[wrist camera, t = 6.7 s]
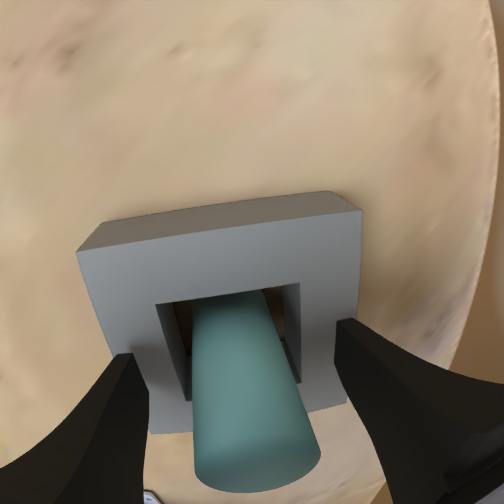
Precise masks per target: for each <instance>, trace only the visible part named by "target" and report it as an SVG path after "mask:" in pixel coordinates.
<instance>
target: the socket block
mask: <svg viewBox="0 0 504 504" xmlns="http://www.w3.org/2000/svg"><path fill="white" fill-rule="evenodd" d="M361 239H362V210H361V209H359V208H357V207H356V206H354V205H352V204H351V203H349V202H347V201H346V200H344V199H342V198H340V197H339V196H337V195H335V194H334V193H332V192H330V191H321V192H312V193H303V194H294V195H285V196H277V197H268V198H260V199H253V200H245V201H237V202H230V203H223V204H216V205H209V206H202V207H195V208H189V209H182V210H176V211H170V212H164V213H158V214H152V215H146V216H140V217H134V218H128V219H123V220H117V221H112V222H106V223H101V224H100V225H99V226H98V227H97V228H96V229H95V231H94V232H93V233H92V234H91V235H90V236H89V237H88V238H87V239H86V241H85V242H84V243H83V244H82V245H81V246H80V247H79V249H78V250H77V251H76V252H75V253H76V256H77V260H78V263H79V266H80V269H81V272H82V276H83V279H84V282H85V285H86V288H87V291H88V294H89V296H90V299H91V302H92V305H93V308H94V310H95V313H96V316H97V318H98V321H99V324H100V326H101V329H102V331H103V334H104V336H105V339H106V341H107V344H108V346H109V348H110V351H111V353H112V355H113V358H114V357H115V356H116V355H117V354H121V353H133V354H134V357H135V359H136V362H137V364H138V367H139V369H140V372H141V374H142V376H143V379H144V381H145V383H146V386H147V388H148V390H149V424H148V429H149V431H150V433H151V434H169V433H182V432H193V405H192V355H189V356H187V355H186V352H185V348H184V345H183V341H182V338H181V334H180V330H179V327H178V323H177V319H176V315H175V311H174V307H173V303H172V302H176V301H183V300H190V299H197V298H204V297H211V296H218V295H224V294H231V293H238V292H244V291H250V290H257V289H263V288H269V287H275V286H281V285H282V292H283V309H284V327H285V340H284V341H281V344H282V346H283V349H284V352H285V355H286V357H287V360H288V363H289V366H290V368H291V371H292V374H293V377H294V379H295V382H296V385H297V388H298V390H299V393H300V396H301V399H302V401H303V404H304V407H305V410H306V412H307V413H308V412H313V411H317V410H321V409H325V408H329V407H333V406H336V405H340V404H344V403H346V400H347V393H346V391H345V390H344V388H343V386H342V383H341V381H340V378H339V376H338V373H337V370H336V368H335V365H334V353H335V338H336V321H338V320H342V319H347V318H351V317H352V318H354V319H356V320H357V309H358V296H359V282H360V264H361Z"/></svg>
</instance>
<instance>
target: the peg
mask: <svg viewBox="0 0 504 504" xmlns="http://www.w3.org/2000/svg"><path fill="white" fill-rule="evenodd" d="M192 405H193V441H194V465H195V474H196V476H197V478H198V479H199V480H200V481H201V482H202V483H204V484H205V485H207V486H209V487H211V488H214V489H217V490H221V491H226V492H233V493H253V492H261V491H267V490H272V489H276V488H279V487H282V486H285V485H287V484H290V483H292V482H294V481H296V480H298V479H300V478H302V477H303V476H305V475H306V474H308V473H309V472H310V471H311V470H312V469H313V468H314V467H315V466H316V465H317V463H318V461H319V459H320V456H321V451H320V448H319V445H318V442H317V440H316V437H315V434H314V432H313V429H312V426H311V423H310V421H309V418H308V415H307V412H306V410H305V407H304V404H303V401H302V399H301V396H300V393H299V390H298V388H297V385H296V382H295V379H294V377H293V374H292V371H291V368H290V366H289V363H288V360H287V357H286V355H285V352H284V349H283V346H282V344H281V341H280V338H279V335H278V333H277V330H276V327H275V324H274V322H273V319H272V316H271V313H270V311H269V308H268V305H267V302H266V300H265V297H264V294H263V292H262V290H261V289H257V290H250V291H244V292H238V293H231V294H224V295H218V296H211V297H204V298H197V299H194V300H193V318H192Z"/></svg>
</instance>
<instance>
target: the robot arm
mask: <svg viewBox="0 0 504 504" xmlns="http://www.w3.org/2000/svg"><path fill="white" fill-rule="evenodd" d="M334 365H335V368H336V370H337V373H338V376H339V378H340V381H341V383H342V386H343V388H344V390H345V391H346V393H347V395H348V397H349V399H350V401H351V402H352V404H353V406H354V408H355V410H356V411H357V413H358V415H359V417H360V419H361V420H362V422H363V424H364V426H365V428H366V429H367V431H368V434H369V436H370V438H371V440H372V442H373V445H374V447H375V450H376V453H377V455H378V458H379V460H380V463H381V466H382V469H383V472H384V475H385V477H386V481H387V484H388V487H389V490H390V493H391V497H392V500H393V504H504V384H498V383H493V382H488V381H483V380H478V379H474V378H470V377H467V376H464V375H461V374H457V373H454V372H451V371H449V370H446V369H443V368H441V367H438V366H436V365H434V364H431V363H429V362H427V361H425V360H423V359H421V358H419V357H417V356H415V355H413V354H411V353H409V352H407V351H405V350H404V349H402V348H400V347H398V346H397V345H395V344H393V343H392V342H390V341H388V340H387V339H385V338H384V337H382V336H381V335H379V334H377V333H376V332H374V331H373V330H371V329H370V328H368V327H367V326H365V325H364V324H362V323H361V322H359V321H357V320H356V319H354V318H352V317H351V318H347V319H342V320H338V321H336V338H335V353H334ZM148 424H149V390H148V388H147V386H146V383H145V381H144V379H143V376H142V374H141V372H140V369H139V367H138V364H137V362H136V359H135V357H134V354H133V353H121V354H117V355H116V356H115V357H114V358H113V360H112V361H111V362H110V364H109V365H108V366H107V368H106V369H105V370H104V372H103V373H102V374H101V376H100V377H99V378H98V380H97V381H96V382H95V384H94V385H93V386H92V387H91V389H90V390H89V391H88V393H87V394H86V395H85V396H84V398H83V399H82V400H81V401H80V402H79V403H78V405H77V406H76V407H75V408H74V409H73V411H72V412H71V413H70V414H69V415H68V416H67V417H66V418H65V419H64V420H63V421H62V422H61V423H60V424H59V425H58V426H57V427H56V428H55V429H54V430H53V431H52V432H51V433H50V434H49V435H48V436H46V437H45V438H44V439H43V440H42V441H40V442H39V443H38V444H37V445H36V446H34V447H33V448H32V449H30V450H29V451H28V452H26V453H25V454H23V455H22V456H20V457H19V458H17V459H16V460H14V461H13V462H11V463H9V464H8V465H6V466H4V467H2V468H0V504H161V503H160V502H159V501H158V499H157V498H156V497H155V496H154V495H153V494H152V493H150V492H144V489H143V468H144V458H145V449H146V441H147V432H148Z"/></svg>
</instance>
